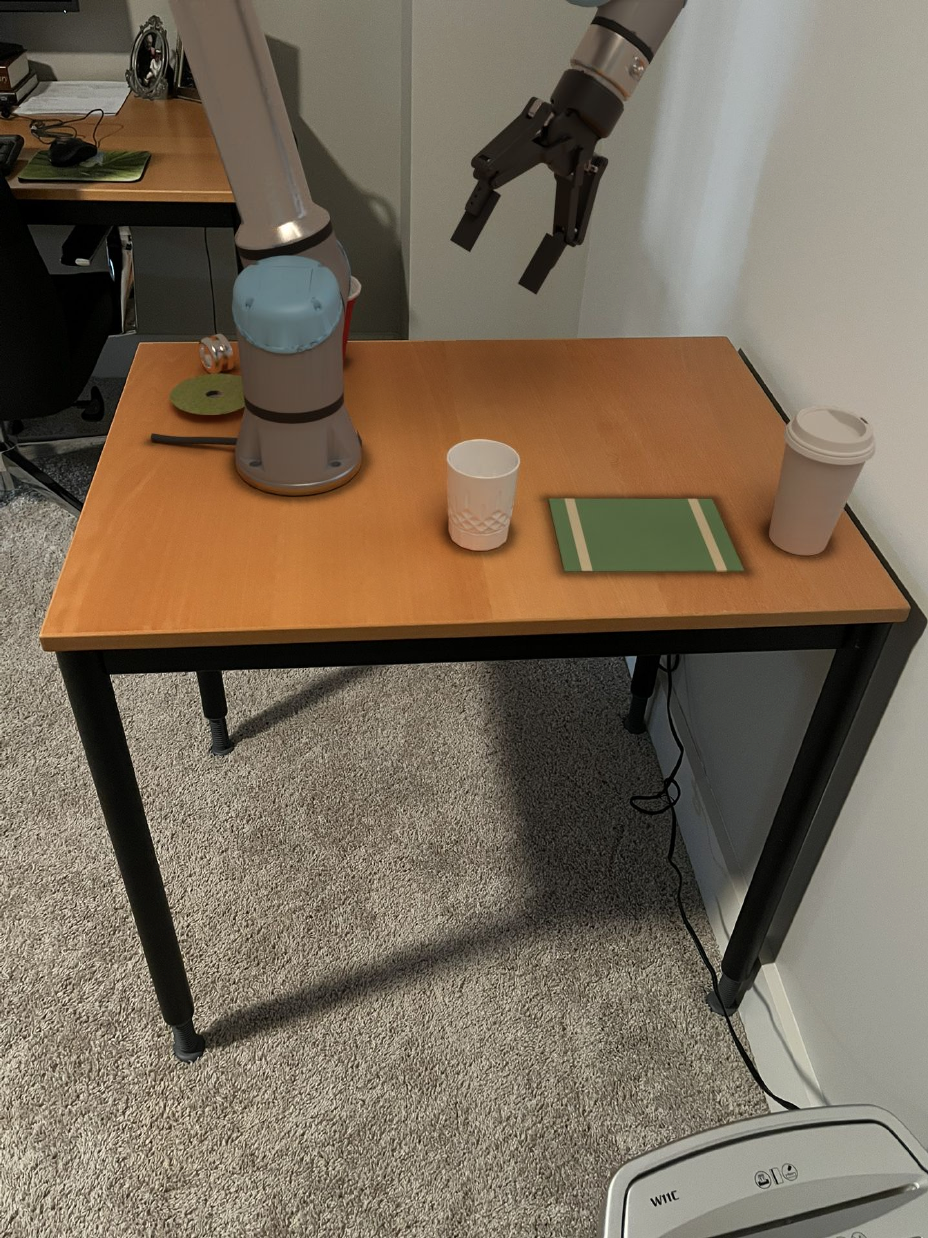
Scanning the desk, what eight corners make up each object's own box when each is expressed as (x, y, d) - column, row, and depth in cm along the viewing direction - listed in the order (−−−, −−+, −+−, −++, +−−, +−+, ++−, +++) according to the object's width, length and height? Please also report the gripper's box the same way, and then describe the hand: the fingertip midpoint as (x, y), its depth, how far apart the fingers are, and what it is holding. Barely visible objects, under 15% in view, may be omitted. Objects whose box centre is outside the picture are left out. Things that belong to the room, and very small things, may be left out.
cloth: (564, 573, 108) (564, 570, 108) (548, 501, 119) (548, 498, 118) (743, 572, 109) (744, 569, 109) (711, 501, 120) (712, 498, 120)
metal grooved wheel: (235, 374, 139) (232, 340, 135) (217, 380, 137) (212, 346, 134) (217, 361, 141) (213, 328, 138) (198, 367, 140) (194, 333, 137)
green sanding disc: (258, 425, 129) (257, 411, 127) (169, 429, 127) (167, 415, 126) (257, 384, 137) (256, 371, 136) (174, 387, 135) (171, 374, 134)
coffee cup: (846, 568, 110) (889, 451, 101) (759, 559, 111) (794, 442, 101) (832, 519, 118) (871, 406, 108) (751, 511, 118) (783, 397, 109)
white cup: (463, 561, 108) (467, 484, 102) (432, 523, 114) (434, 447, 107) (525, 544, 111) (533, 468, 105) (492, 507, 116) (497, 433, 110)
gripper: (563, 30, 93) (450, 239, 99) (671, 150, 114) (572, 317, 120) (510, 9, 97) (405, 211, 103) (624, 128, 117) (530, 291, 124)
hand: (494, 268), depth 112 cm, fingers open, 13 cm apart
